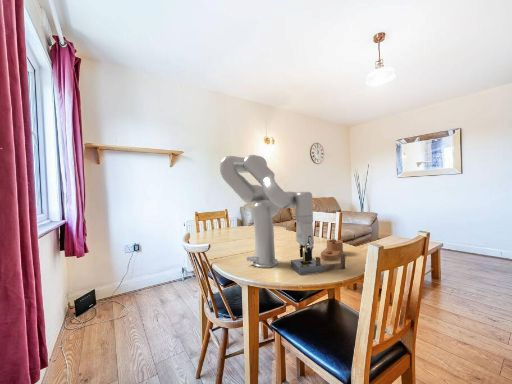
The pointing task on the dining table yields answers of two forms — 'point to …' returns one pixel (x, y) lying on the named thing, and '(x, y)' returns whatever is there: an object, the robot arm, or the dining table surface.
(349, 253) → the dining table surface
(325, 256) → the bracket
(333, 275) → the dining table surface
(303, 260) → the pin
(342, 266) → the brown drawer handle
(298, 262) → the collar block
